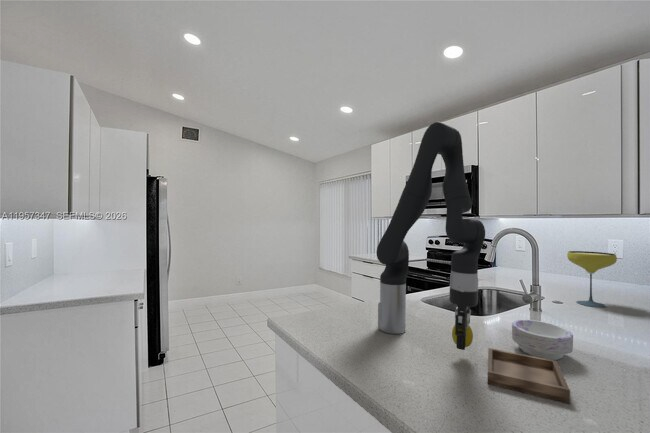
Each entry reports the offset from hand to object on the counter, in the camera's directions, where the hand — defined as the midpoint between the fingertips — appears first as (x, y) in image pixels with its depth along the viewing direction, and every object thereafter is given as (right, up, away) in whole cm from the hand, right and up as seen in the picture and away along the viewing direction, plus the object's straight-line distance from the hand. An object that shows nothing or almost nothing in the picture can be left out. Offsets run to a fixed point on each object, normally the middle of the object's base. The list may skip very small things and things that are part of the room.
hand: (462, 344), depth 88 cm
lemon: (0, -1, 0) cm, 1 cm away
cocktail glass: (+90, -6, +59) cm, 108 cm away
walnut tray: (+11, -4, -10) cm, 16 cm away
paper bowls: (+26, -5, +4) cm, 27 cm away
